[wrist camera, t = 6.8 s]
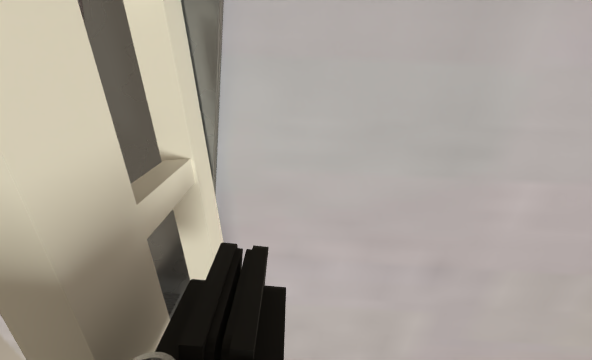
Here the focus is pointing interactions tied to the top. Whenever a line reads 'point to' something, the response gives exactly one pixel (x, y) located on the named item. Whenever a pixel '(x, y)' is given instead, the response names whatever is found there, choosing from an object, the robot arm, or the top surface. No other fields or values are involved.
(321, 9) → the top surface
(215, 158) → the gate frame
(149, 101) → the gate
